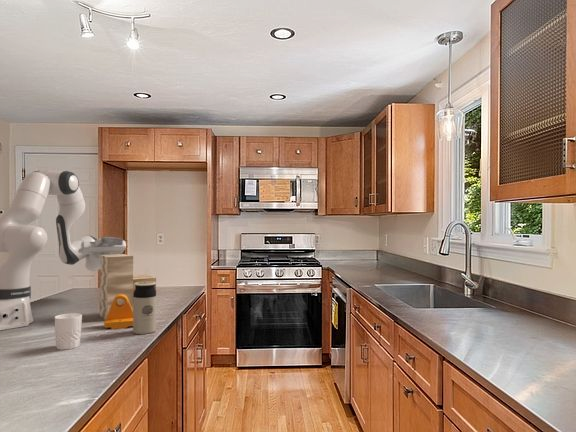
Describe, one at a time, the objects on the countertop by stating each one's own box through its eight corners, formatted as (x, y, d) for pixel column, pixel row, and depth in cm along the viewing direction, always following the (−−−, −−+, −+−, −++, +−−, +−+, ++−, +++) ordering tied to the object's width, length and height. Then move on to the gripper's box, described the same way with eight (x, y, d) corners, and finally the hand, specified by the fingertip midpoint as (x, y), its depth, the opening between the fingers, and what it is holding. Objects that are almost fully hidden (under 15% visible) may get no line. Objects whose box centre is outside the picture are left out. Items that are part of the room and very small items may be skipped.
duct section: (100, 243, 196) (100, 236, 196) (109, 242, 199) (109, 236, 199) (113, 245, 181) (113, 238, 181) (122, 245, 183) (122, 238, 183)
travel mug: (133, 329, 154) (133, 281, 154) (155, 328, 157) (155, 281, 157) (132, 335, 147) (133, 285, 147) (156, 333, 150) (156, 284, 150)
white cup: (75, 341, 139) (75, 312, 139) (86, 346, 134) (86, 315, 134) (50, 347, 133) (50, 316, 133) (60, 352, 128) (60, 319, 128)
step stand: (99, 315, 177) (100, 255, 177) (145, 309, 190) (146, 253, 190) (107, 320, 168) (108, 257, 168) (155, 314, 180) (156, 255, 181)
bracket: (103, 329, 154) (104, 297, 154) (105, 325, 161) (106, 294, 161) (134, 327, 158) (134, 296, 158) (135, 323, 164) (135, 293, 165)
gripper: (76, 247, 199) (82, 233, 189) (120, 245, 211) (128, 233, 202) (78, 259, 196) (84, 246, 187) (122, 257, 209) (130, 244, 200)
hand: (107, 239), depth 195 cm, fingers closed on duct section, 4 cm apart
